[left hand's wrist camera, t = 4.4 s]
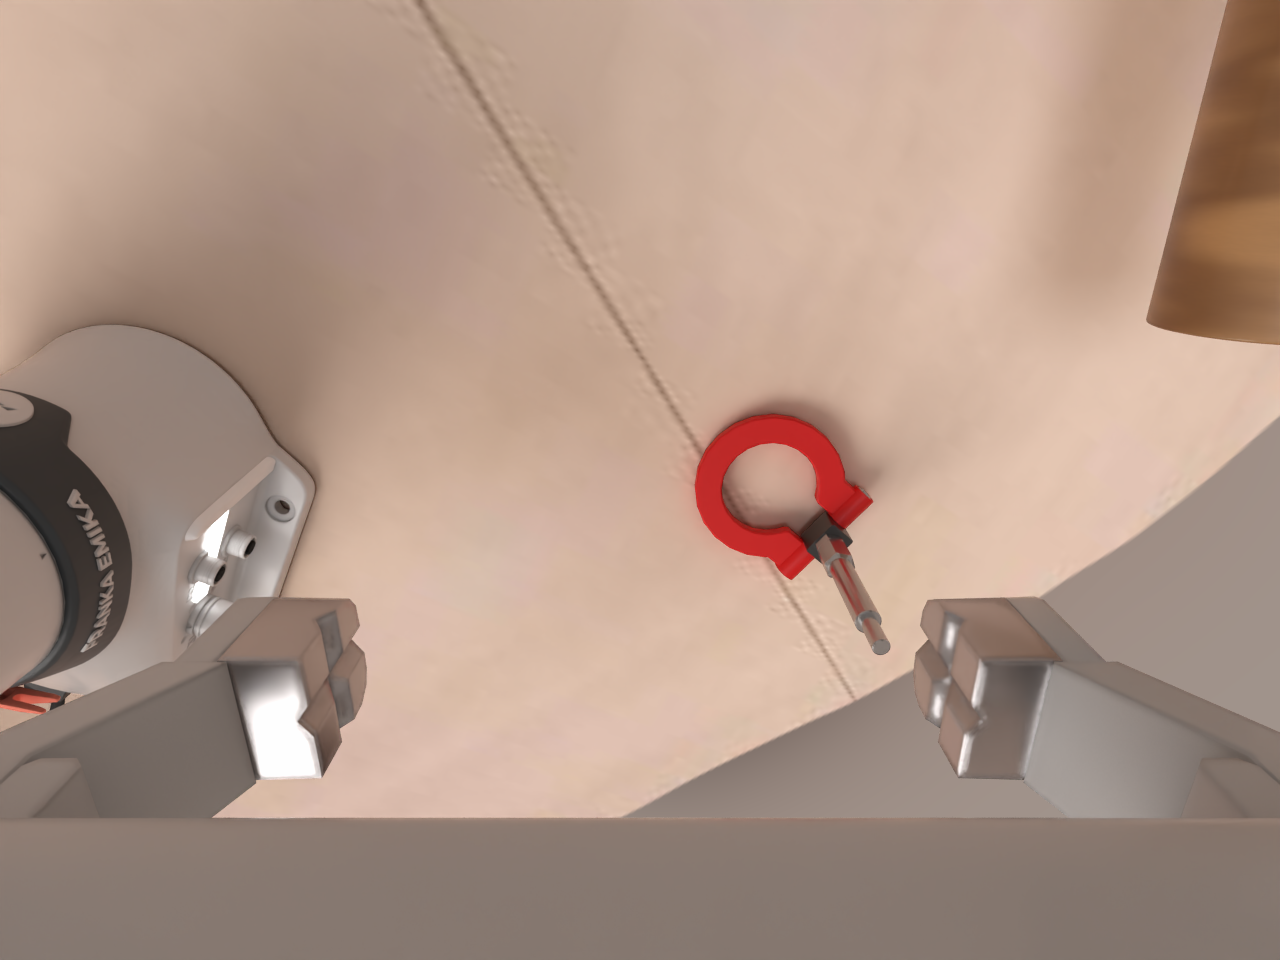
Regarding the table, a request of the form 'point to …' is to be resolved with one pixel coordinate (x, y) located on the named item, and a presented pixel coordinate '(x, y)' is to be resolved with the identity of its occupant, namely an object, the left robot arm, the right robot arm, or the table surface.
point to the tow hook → (782, 543)
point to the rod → (1230, 193)
